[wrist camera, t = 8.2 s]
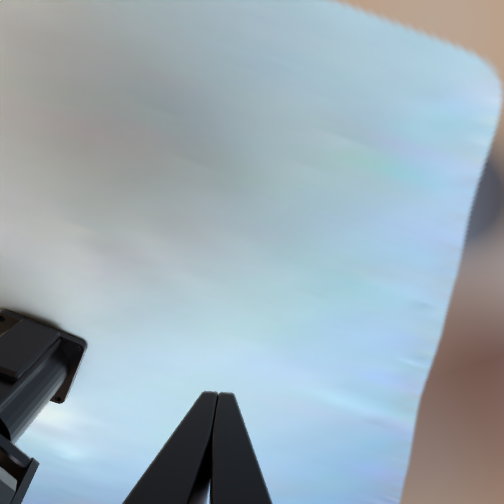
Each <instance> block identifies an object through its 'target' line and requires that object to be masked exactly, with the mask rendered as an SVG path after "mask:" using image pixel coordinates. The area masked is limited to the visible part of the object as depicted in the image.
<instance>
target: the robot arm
mask: <svg viewBox="0 0 504 504" xmlns="http://www.w3.org/2000/svg"><path fill="white" fill-rule="evenodd" d="M78 346H79V347H80V348H79V347H78ZM86 349H87V344H86V343H85V342H84V341H82V340H80V339H77V338H75V337H72V336H70V335H67V334H65V333H62V332H60V331H57V330H55V329H52V328H50V327H47V326H45V325H42V324H40V323H38V322H35V321H33V320H30V319H28V318H25V317H23V316H20V315H18V314H15V313H13V312H10V311H8V310H1V311H0V504H21V502H22V500H23V498H24V496H25V494H26V492H27V489H28V487H29V485H30V483H31V481H32V479H33V476H34V474H35V472H36V470H37V468H38V466H39V462H38V461H36V460H35V459H34V458H30V457H29V456H27V455H26V454H25V453H24V452H23V451H21V450H20V449H19V448H18V447H17V446H16V445H14V444H15V443H16V442H17V440H18V439H19V438H20V437H21V435H22V434H23V433H24V432H25V430H26V429H27V428H28V427H29V425H30V424H31V423H32V422H33V420H34V419H35V418H36V417H37V416H38V414H39V413H40V412H41V411H42V409H43V408H44V407H45V406H46V404H47V403H48V402H49V401H52V402H55V403H59V404H60V403H63V402H64V401H65V400H66V398H67V397H68V394H69V392H70V389H71V387H72V384H73V382H74V379H75V377H76V374H77V372H78V369H79V367H80V364H81V362H82V359H83V357H84V354H85V352H86ZM209 487H210V502H209V504H272V501H271V498H270V495H269V492H268V489H267V486H266V483H265V481H264V478H263V475H262V472H261V469H260V466H259V463H258V460H257V458H256V455H255V452H254V449H253V446H252V443H251V440H250V438H249V435H248V432H247V429H246V426H245V423H244V420H243V417H242V415H241V412H240V409H239V406H238V403H237V400H236V397H235V395H234V394H233V393H228V392H220V393H219V395H218V393H217V392H212V391H204V392H202V393H201V395H200V396H199V398H198V399H197V400H196V402H195V403H194V404H193V406H192V407H191V409H190V410H189V411H188V413H187V414H186V416H185V417H184V418H183V420H182V421H181V423H180V424H179V425H178V427H177V428H176V429H175V431H174V432H173V434H172V435H171V436H170V438H169V439H168V441H167V442H166V443H165V445H164V446H163V448H162V449H161V450H160V452H159V453H158V455H157V456H156V457H155V459H154V460H153V461H152V463H151V464H150V466H149V467H148V468H147V470H146V471H145V473H144V474H143V475H142V477H141V478H140V480H139V481H138V482H137V484H136V485H135V487H134V488H133V489H132V491H131V492H130V493H129V495H128V496H127V498H126V499H125V500H124V502H123V503H122V504H206V503H207V498H208V492H209Z"/></svg>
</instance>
